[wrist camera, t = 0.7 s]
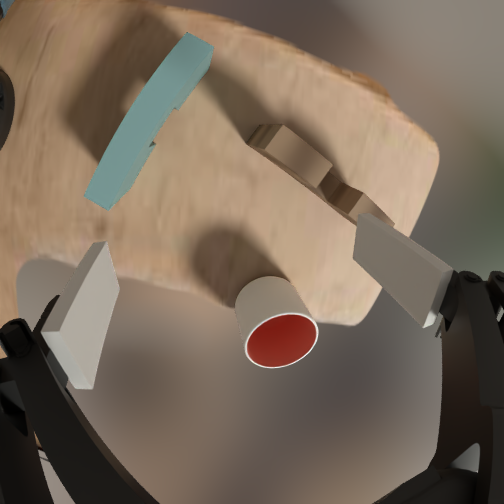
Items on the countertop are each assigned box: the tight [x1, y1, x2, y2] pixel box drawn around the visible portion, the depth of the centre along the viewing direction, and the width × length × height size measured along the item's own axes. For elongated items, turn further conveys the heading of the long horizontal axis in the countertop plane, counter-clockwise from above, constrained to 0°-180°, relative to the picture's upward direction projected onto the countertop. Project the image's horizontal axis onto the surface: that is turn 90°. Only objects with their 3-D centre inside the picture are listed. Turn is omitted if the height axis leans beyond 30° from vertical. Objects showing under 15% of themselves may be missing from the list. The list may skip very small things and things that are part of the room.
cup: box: [235, 276, 318, 368], centre depth 40 cm, size 10×10×10 cm
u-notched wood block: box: [246, 124, 395, 227], centre depth 32 cm, size 18×3×10 cm, turn 54°
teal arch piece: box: [84, 32, 214, 211], centre depth 26 cm, size 18×3×10 cm, turn 144°
